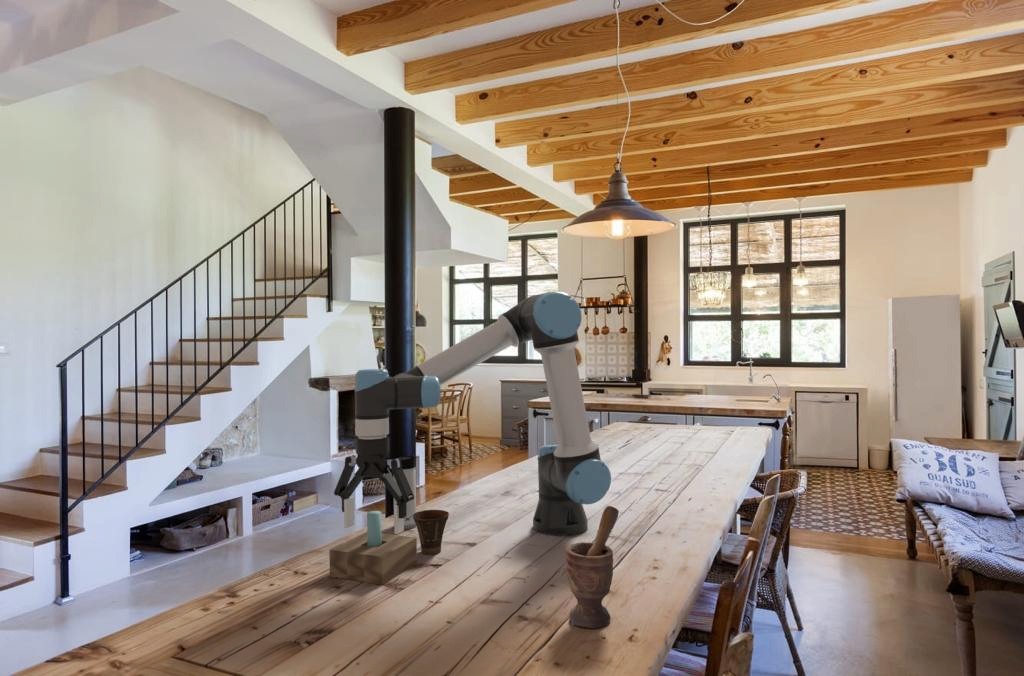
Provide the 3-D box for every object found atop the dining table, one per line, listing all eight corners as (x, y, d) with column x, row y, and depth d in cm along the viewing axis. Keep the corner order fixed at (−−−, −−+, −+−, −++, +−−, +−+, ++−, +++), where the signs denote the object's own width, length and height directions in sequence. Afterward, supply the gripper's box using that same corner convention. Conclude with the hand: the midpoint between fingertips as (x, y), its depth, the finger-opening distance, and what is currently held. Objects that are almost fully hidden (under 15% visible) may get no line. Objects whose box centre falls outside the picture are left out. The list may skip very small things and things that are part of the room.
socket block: (416, 563, 147) (416, 537, 147) (382, 584, 134) (382, 556, 134) (367, 556, 152) (366, 531, 152) (329, 576, 139) (329, 549, 139)
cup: (458, 543, 159) (454, 505, 158) (443, 559, 150) (438, 520, 149) (427, 541, 162) (422, 504, 161) (410, 557, 153) (406, 518, 152)
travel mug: (413, 530, 173) (411, 457, 173) (390, 529, 174) (389, 457, 175) (420, 523, 179) (419, 453, 179) (399, 522, 181) (398, 453, 181)
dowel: (384, 563, 144) (384, 511, 144) (376, 568, 141) (375, 515, 141) (373, 562, 145) (372, 510, 145) (364, 566, 142) (364, 513, 142)
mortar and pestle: (584, 601, 124) (582, 500, 124) (626, 609, 120) (624, 505, 120) (559, 624, 114) (557, 514, 114) (604, 634, 110) (602, 520, 110)
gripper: (428, 436, 142) (429, 529, 142) (338, 432, 152) (339, 519, 151) (410, 441, 135) (412, 539, 135) (317, 436, 145) (319, 528, 145)
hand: (373, 529), depth 143 cm, fingers open, 13 cm apart
